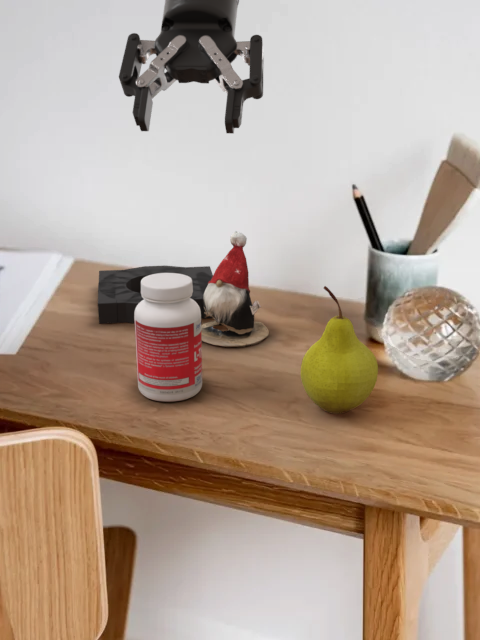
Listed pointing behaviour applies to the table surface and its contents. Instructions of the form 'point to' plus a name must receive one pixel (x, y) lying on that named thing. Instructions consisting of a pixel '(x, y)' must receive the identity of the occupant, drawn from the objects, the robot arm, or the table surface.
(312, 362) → the fruit
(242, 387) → the table surface
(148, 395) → the pill bottle
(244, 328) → the figurine
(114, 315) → the ashtray
